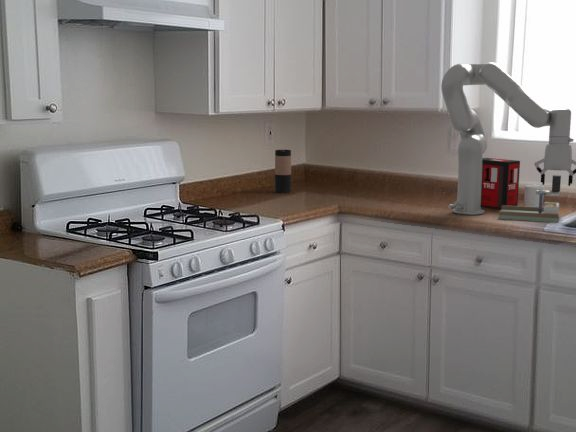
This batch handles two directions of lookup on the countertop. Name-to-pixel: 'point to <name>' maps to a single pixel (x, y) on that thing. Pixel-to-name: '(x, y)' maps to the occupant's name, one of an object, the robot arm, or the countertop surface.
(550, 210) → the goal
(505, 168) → the cleaning product box
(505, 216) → the pitch
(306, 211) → the countertop surface
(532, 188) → the white cup
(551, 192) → the kicker rod
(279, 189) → the travel mug
